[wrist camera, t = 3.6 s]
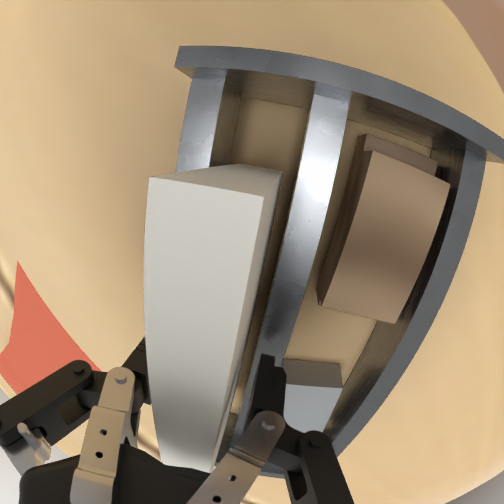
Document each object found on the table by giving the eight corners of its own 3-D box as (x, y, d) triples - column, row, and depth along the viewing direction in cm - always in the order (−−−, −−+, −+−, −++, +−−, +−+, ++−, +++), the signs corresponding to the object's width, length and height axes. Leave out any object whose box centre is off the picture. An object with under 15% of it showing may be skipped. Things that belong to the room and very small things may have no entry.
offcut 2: (356, 137, 14) (366, 133, 12) (419, 160, 14) (437, 161, 12) (315, 286, 18) (318, 304, 16) (375, 299, 18) (384, 318, 15)
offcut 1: (283, 356, 20) (280, 383, 17) (339, 361, 20) (343, 388, 17) (272, 408, 23) (268, 433, 20) (319, 412, 22) (319, 437, 19)
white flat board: (242, 163, 16) (149, 177, 5) (283, 171, 16) (264, 197, 5) (208, 380, 22) (167, 485, 12) (236, 387, 22) (204, 496, 12)
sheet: (76, 429, 34) (-9, 330, 30) (172, 387, 28) (38, 225, 24) (64, 448, 29) (-27, 344, 25) (158, 421, 23) (4, 236, 18)
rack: (217, 80, 14) (179, 46, 8) (453, 143, 13) (511, 145, 7) (182, 404, 24) (161, 449, 18) (329, 434, 23) (330, 481, 17)
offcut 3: (362, 151, 12) (373, 150, 11) (432, 179, 12) (450, 184, 10) (318, 288, 15) (321, 306, 14) (385, 305, 15) (394, 323, 13)
